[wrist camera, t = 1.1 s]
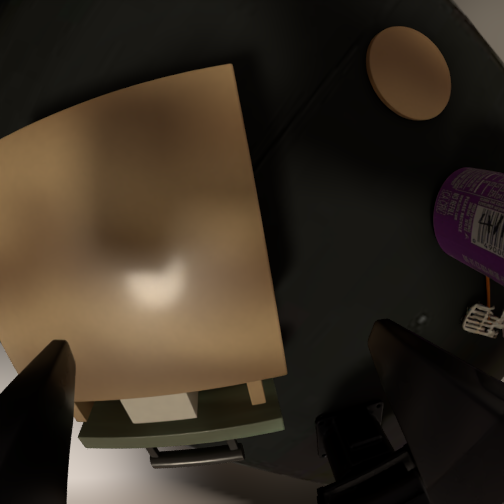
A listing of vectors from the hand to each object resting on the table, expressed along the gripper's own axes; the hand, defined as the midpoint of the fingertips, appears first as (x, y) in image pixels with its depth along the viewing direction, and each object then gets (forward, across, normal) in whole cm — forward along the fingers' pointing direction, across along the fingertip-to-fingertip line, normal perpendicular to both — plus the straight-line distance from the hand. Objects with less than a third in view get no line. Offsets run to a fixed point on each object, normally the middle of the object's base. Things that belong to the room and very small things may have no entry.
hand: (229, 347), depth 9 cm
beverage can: (+10, -19, 0) cm, 22 cm away
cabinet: (+13, +4, +2) cm, 13 cm away
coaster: (+13, -14, -10) cm, 21 cm away
